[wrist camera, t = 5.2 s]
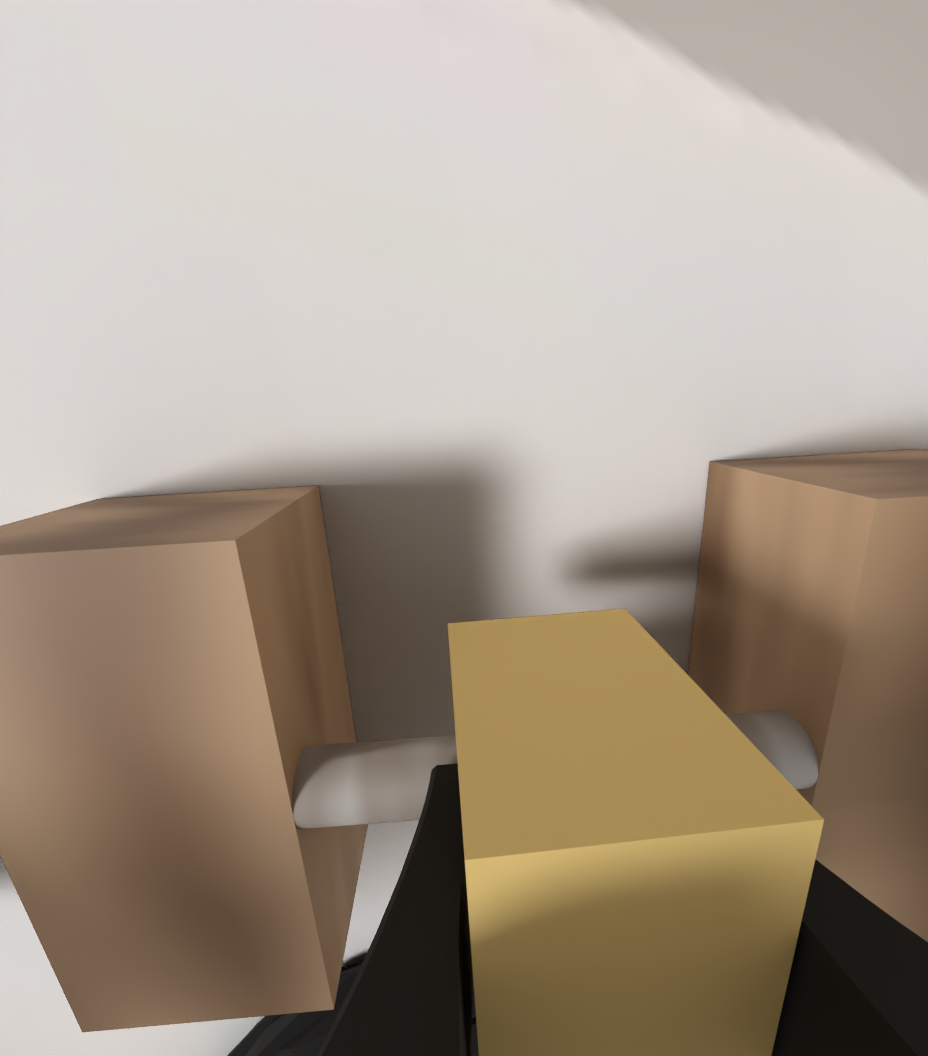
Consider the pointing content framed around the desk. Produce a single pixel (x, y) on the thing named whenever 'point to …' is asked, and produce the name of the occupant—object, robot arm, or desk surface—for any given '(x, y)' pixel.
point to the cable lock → (308, 1027)
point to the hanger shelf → (398, 764)
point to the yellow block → (618, 847)
